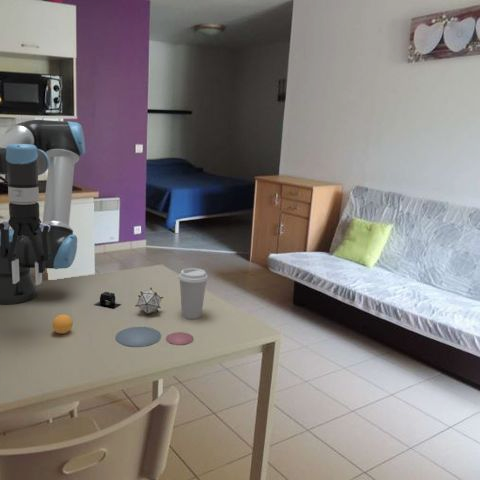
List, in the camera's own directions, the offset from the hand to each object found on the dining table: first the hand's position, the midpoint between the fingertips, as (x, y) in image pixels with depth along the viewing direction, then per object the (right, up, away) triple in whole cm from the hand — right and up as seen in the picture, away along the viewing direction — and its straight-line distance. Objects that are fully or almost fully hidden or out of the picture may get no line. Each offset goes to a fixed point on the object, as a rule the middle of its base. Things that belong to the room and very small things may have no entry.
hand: (27, 282), depth 135 cm
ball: (+9, -12, +3) cm, 15 cm away
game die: (+30, -12, +22) cm, 39 cm away
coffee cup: (+44, -13, +22) cm, 51 cm away
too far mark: (+42, -17, +5) cm, 46 cm away
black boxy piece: (+15, -11, +27) cm, 33 cm away
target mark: (+31, -16, +4) cm, 35 cm away
